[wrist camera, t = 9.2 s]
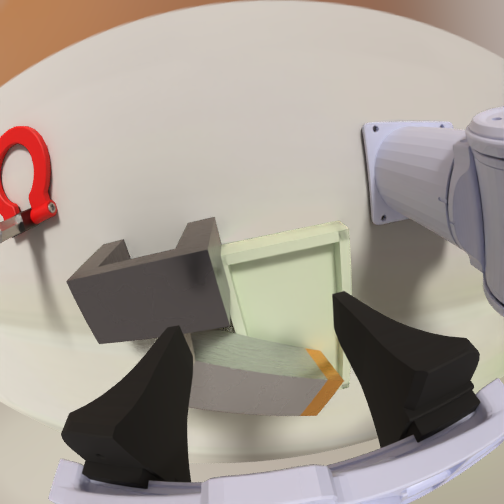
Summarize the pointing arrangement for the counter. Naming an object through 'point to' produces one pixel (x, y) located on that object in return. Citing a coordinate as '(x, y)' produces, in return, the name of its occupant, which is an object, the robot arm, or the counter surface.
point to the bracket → (155, 288)
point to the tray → (291, 288)
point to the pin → (258, 375)
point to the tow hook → (39, 195)
